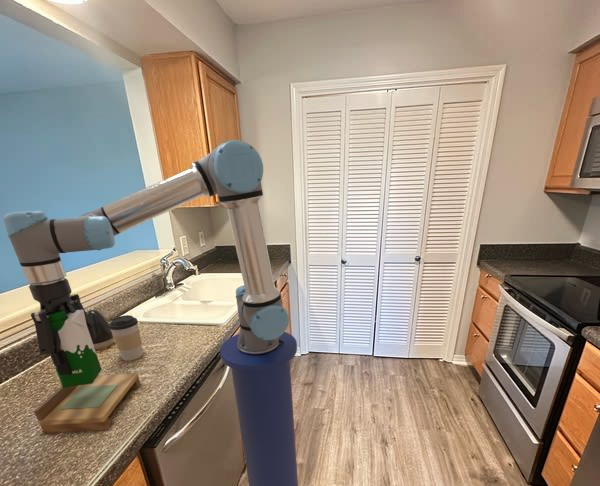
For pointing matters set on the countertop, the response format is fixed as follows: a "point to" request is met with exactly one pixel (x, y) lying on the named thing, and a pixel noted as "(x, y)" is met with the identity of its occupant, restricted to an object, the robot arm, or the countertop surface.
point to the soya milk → (76, 348)
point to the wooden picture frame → (84, 404)
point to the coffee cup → (127, 337)
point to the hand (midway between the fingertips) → (78, 363)
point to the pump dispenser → (100, 330)
